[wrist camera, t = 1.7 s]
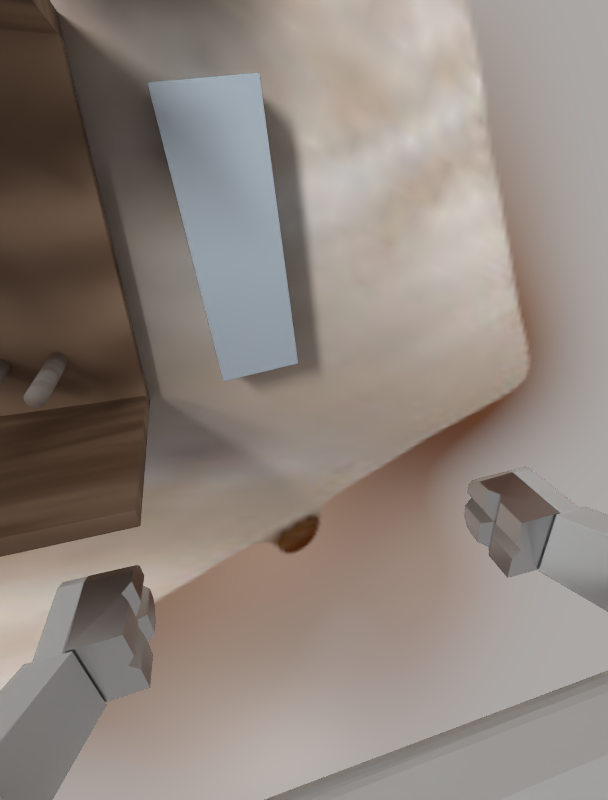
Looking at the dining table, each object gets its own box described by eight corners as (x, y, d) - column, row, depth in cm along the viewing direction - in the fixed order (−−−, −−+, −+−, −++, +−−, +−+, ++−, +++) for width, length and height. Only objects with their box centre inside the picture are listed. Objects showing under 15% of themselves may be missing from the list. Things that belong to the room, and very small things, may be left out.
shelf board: (150, 95, 24) (147, 82, 20) (246, 86, 25) (259, 72, 22) (217, 360, 33) (223, 381, 30) (285, 345, 34) (298, 363, 31)
